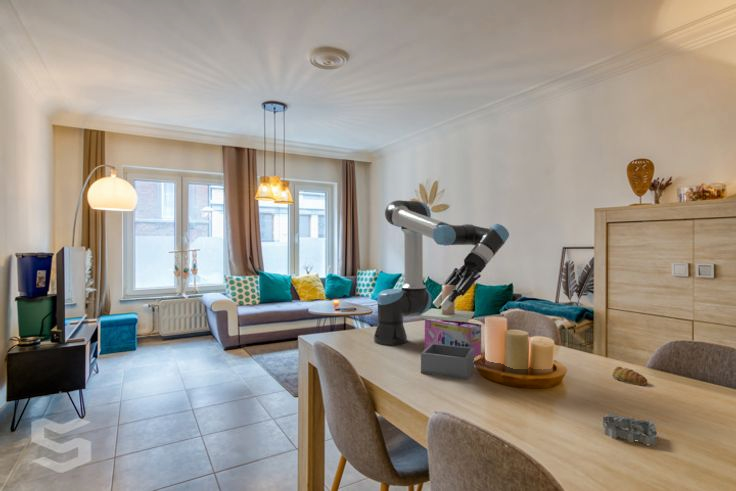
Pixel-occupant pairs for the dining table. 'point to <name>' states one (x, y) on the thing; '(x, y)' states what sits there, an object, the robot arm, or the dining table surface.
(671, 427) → the dining table surface
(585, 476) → the dining table surface
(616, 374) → the pastry
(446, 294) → the lid
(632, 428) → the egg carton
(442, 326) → the gum box
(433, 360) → the tub
